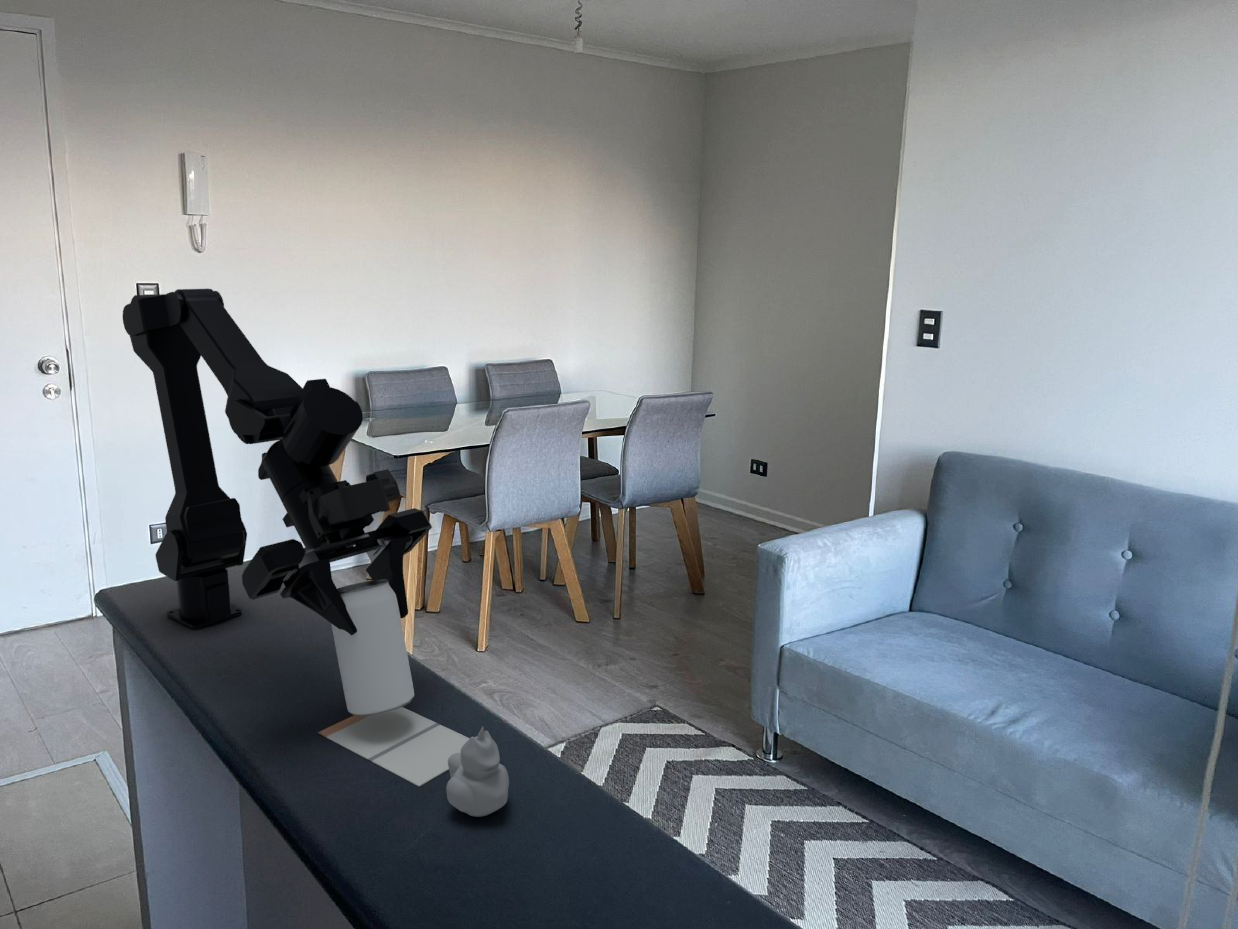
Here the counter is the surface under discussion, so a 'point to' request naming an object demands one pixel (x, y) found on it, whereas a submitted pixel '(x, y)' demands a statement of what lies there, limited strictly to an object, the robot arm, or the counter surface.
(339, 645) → the can
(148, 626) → the counter surface
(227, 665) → the counter surface
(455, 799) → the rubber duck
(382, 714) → the distance mat
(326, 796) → the counter surface
